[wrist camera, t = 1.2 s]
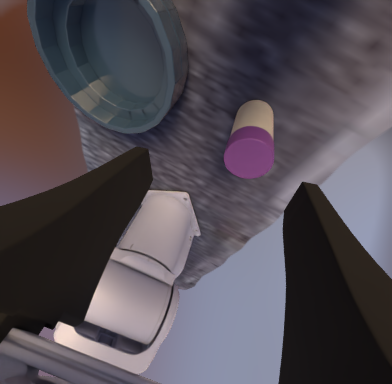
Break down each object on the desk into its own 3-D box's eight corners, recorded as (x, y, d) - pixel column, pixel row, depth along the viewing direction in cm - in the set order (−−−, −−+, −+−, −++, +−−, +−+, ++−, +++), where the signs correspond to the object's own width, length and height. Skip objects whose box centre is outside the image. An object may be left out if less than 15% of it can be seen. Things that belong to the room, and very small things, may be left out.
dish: (201, 110, 17) (190, 130, 15) (108, 118, 20) (87, 136, 18) (168, -77, 10) (138, -95, 8) (38, -20, 14) (-11, -21, 11)
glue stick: (272, 134, 17) (272, 179, 13) (236, 135, 18) (225, 178, 14) (275, 96, 15) (276, 137, 11) (234, 100, 16) (220, 139, 12)
